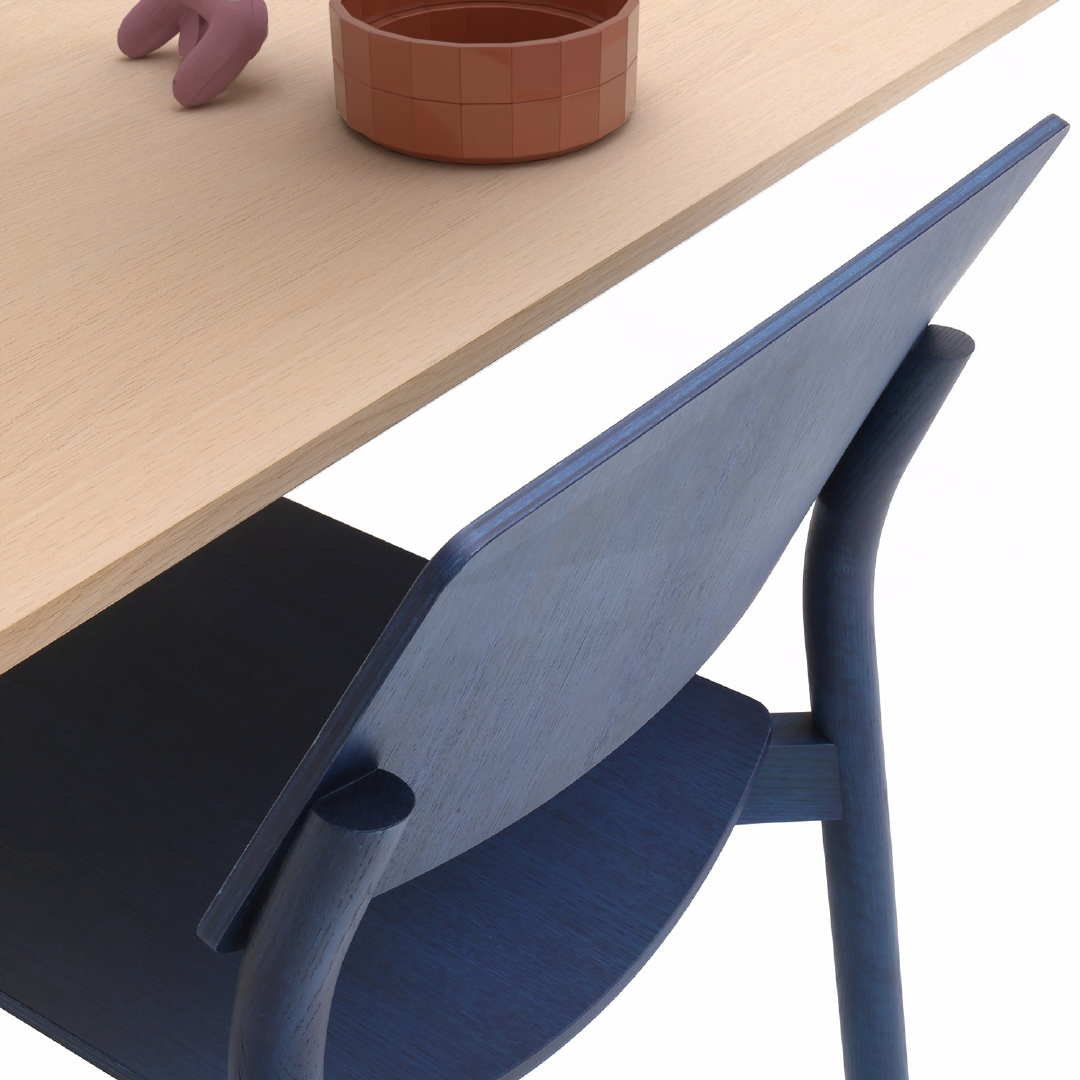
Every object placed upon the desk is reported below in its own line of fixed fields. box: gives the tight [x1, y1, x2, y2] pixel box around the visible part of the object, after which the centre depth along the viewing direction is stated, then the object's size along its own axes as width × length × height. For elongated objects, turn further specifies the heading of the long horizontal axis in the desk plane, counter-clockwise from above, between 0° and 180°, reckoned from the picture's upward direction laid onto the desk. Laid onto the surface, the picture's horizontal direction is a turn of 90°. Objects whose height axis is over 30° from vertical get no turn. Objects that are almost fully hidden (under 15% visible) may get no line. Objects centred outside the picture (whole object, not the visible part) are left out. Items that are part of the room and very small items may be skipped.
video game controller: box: [116, 0, 269, 108], centre depth 89 cm, size 10×5×7 cm, turn 31°
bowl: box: [328, 0, 641, 165], centre depth 85 cm, size 15×15×6 cm
